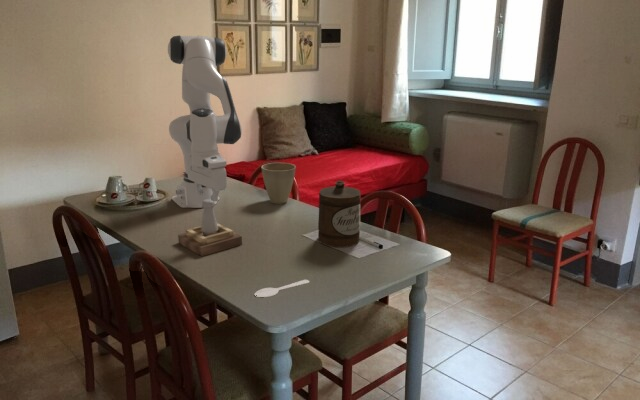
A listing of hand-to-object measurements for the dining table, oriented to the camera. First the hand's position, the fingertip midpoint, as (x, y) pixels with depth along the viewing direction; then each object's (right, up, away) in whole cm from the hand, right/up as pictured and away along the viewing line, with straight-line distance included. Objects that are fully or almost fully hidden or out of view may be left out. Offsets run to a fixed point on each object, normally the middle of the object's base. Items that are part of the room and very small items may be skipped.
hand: (207, 197), depth 180 cm
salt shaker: (0, -13, +4) cm, 14 cm away
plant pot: (+21, -2, +53) cm, 57 cm away
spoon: (+28, -27, -27) cm, 48 cm away
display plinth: (0, -16, +5) cm, 17 cm away
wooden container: (+46, -15, +9) cm, 49 cm away
